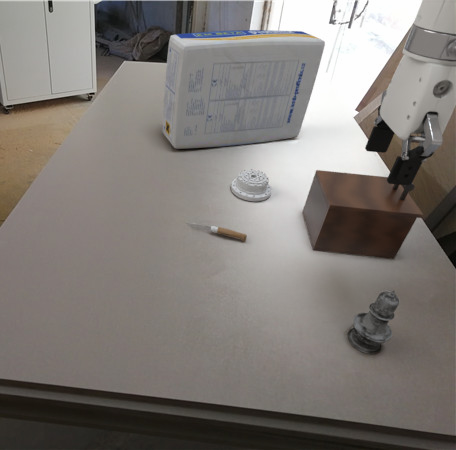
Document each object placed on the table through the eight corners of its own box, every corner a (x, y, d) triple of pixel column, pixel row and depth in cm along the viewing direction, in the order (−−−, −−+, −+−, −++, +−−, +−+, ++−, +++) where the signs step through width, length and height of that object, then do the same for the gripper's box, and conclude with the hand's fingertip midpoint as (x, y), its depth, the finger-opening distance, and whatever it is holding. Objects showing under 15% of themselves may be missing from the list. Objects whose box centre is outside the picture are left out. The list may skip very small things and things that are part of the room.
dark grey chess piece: (376, 362, 64) (408, 312, 57) (340, 340, 67) (366, 290, 60) (388, 340, 67) (420, 290, 60) (353, 320, 70) (380, 271, 63)
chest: (373, 220, 95) (392, 181, 88) (394, 259, 84) (417, 217, 77) (302, 212, 96) (315, 173, 89) (312, 250, 85) (328, 208, 78)
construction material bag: (280, 124, 136) (305, 27, 118) (300, 139, 127) (329, 37, 109) (160, 136, 124) (166, 31, 106) (172, 153, 116) (181, 42, 98)
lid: (396, 181, 88) (405, 161, 85) (421, 218, 77) (433, 197, 74) (315, 173, 89) (321, 153, 86) (328, 208, 78) (336, 187, 75)
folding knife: (183, 228, 89) (184, 221, 87) (185, 224, 90) (186, 217, 89) (244, 244, 85) (246, 236, 84) (246, 239, 87) (247, 232, 85)
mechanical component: (246, 176, 108) (222, 189, 102) (249, 162, 105) (225, 174, 99) (278, 192, 102) (254, 207, 96) (282, 177, 99) (258, 191, 94)
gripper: (513, 68, 43) (437, 201, 53) (439, 30, 56) (390, 142, 67) (440, 62, 43) (379, 195, 54) (384, 27, 57) (344, 138, 67)
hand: (386, 166), depth 60 cm, fingers open, 9 cm apart
